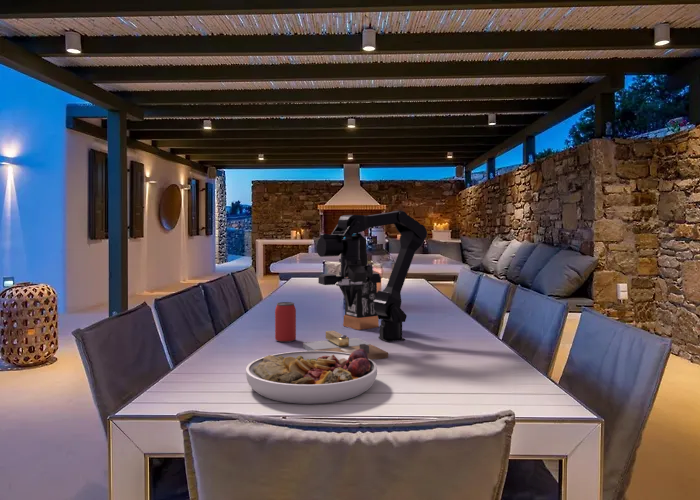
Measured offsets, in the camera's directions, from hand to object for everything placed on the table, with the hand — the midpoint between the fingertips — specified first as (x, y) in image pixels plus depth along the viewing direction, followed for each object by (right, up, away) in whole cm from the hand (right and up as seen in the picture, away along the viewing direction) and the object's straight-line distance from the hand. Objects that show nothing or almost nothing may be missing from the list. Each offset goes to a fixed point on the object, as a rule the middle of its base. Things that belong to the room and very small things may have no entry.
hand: (349, 306), depth 164 cm
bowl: (-9, -15, -40) cm, 44 cm away
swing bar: (-4, -10, -4) cm, 12 cm away
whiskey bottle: (+4, -11, +31) cm, 33 cm away
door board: (0, -13, -13) cm, 18 cm away
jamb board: (-4, -12, -4) cm, 13 cm away
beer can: (-21, -12, +8) cm, 25 cm away
